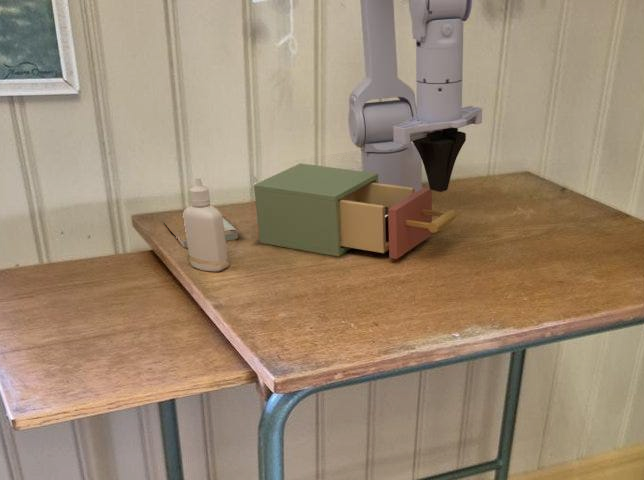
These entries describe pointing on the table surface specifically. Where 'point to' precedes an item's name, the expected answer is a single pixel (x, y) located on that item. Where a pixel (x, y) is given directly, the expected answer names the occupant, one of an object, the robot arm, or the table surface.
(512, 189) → the table surface
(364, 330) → the table surface
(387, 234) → the clip
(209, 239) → the eye dropper bottle
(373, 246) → the drawer
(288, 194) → the cabinet
